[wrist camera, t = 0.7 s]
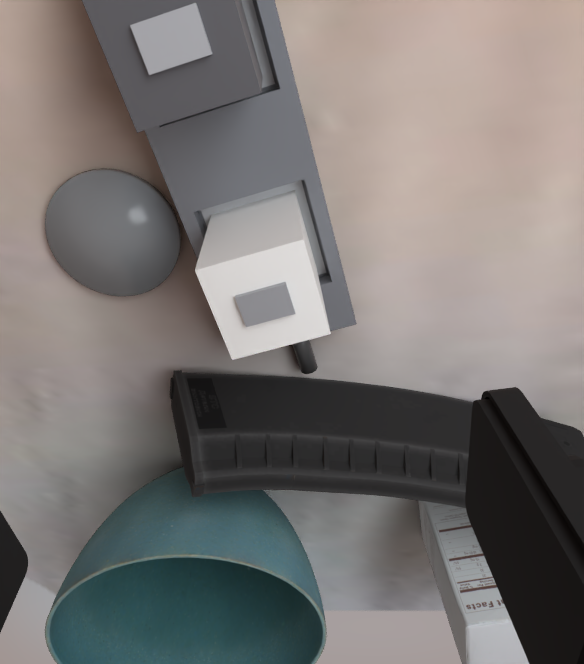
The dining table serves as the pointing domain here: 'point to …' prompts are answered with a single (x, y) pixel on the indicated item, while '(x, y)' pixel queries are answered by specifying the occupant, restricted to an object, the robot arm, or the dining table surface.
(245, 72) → the block
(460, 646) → the supplement box
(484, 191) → the dining table surface
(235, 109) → the power strip
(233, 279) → the block
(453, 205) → the dining table surface
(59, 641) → the teal bowl
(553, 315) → the dining table surface
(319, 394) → the magazine
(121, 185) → the slate coaster
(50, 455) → the dining table surface
